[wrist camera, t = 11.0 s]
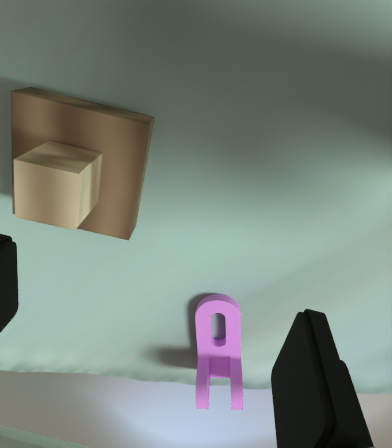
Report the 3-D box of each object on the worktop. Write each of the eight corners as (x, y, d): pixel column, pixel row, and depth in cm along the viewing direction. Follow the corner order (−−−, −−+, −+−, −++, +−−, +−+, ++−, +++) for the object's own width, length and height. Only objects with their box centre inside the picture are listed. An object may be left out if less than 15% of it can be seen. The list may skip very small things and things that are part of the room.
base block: (155, 116, 34) (147, 124, 31) (137, 223, 40) (128, 240, 36) (33, 86, 34) (11, 91, 30) (31, 198, 39) (12, 213, 36)
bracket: (240, 369, 48) (243, 416, 42) (200, 368, 49) (196, 415, 43) (240, 293, 43) (243, 334, 36) (194, 293, 43) (189, 334, 37)
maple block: (102, 153, 32) (78, 173, 27) (98, 202, 34) (75, 230, 29) (48, 140, 32) (13, 159, 27) (47, 190, 34) (15, 217, 29)
